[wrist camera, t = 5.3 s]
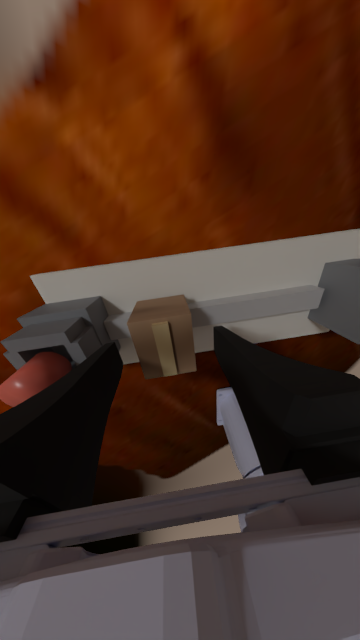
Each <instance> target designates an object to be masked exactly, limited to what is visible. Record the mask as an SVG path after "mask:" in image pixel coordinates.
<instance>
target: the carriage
mask: <svg viewBox="0 0 360 640" xmlns="http://www.w3.org/2000/svg"><path fill="white" fill-rule="evenodd" d="M127 326H128V329H129V332H130V335H131V338H132V341H133V344H134V347H135V350H136V353H137V356H138V359H139V361H140V364H141V367H142V370H143V373H144V376H145V379H150V378H157V377H163V376H171V375H177V374H181V373H187V372H193V371H197V370H196V360H195V350H194V340H193V329H192V319H191V312H190V310H189V307H188V304H187V302H186V299H185V297H184V294H183V295H176V296H169V297H162V298H156V299H149V300H142V301H137V302H136V305H135V307H134V309H133V311H132V313H131V315H130V317H129V319H128V321H127Z"/></svg>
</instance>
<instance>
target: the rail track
mask: <svg viewBox="0 0 360 640" xmlns="http://www.w3.org/2000/svg"><path fill="white" fill-rule="evenodd" d="M30 278H31V279H32V281H33V283H34V284H35V286H36V288H37V289H38V291H39V293H40V295H41V296H42V298H43V300H44V301H45V303H46V304H45V305H43V306H41V307H39V308H37V309H35V310H33V311H31V312H29V313H27V314H25V315H23V316H21V317H19V318H17V320H18V321H19V322H20V324H21V325H22V327H23V329H21V330H19V331H18V332H16V333H14V334H13V335H11V336H9V337H8V338H6V339H4V340H3V341H1V343H2V344H3V345H4V347H5V348H6V349H7V350H8V351H7V352H5V353H4V354H3V355H4V356H5V357H6V358H7V359H8V360H9V361H10V362H11V364H12V365H13V366H14V367H15V368H16V369H17V370H19V369H20V368H21V367H22V366H23V365H24V364H26V363H27V362H28V361H29V360H30V359H31V358H33V357H34V356H35V355H36V354H38V353H40V352H54V353H58V354H60V355H62V356H64V357H65V358H66V359H68V360H69V362H70V363H71V366H72V370H73V369H74V368H75V367H76V366H78V365H79V364H80V363H82V362H83V361H84V360H85V359H87V358H88V357H89V356H90V355H92V354H93V353H94V352H95V351H97V350H98V349H99V348H100V347H102V346H103V345H104V344H106V343H111V342H115V344H116V346H117V349H118V351H119V353H120V356H121V358H122V361H123V364H129V363H135V362H140V361H139V359H138V356H137V353H136V350H135V347H134V344H133V341H132V338H131V335H130V332H129V329H128V326H127V321H128V319H129V317H130V315H131V313H132V311H133V309H134V307H135V305H136V302H137V301H142V300H149V299H156V298H162V297H169V296H176V295H183V294H184V297H185V299H186V302H187V304H188V307H189V310H190V312H191V319H192V329H193V340H194V350H195V353H198V352H204V351H210V350H214V335H213V327H215V326H221V325H222V326H223V327H225V328H227V329H228V330H230V331H232V332H233V333H235V334H237V335H238V336H240V337H242V338H244V339H246V340H247V341H249V342H251V343H253V344H254V343H260V342H267V341H273V340H279V339H285V338H292V337H298V336H304V335H310V334H317V333H323V332H329V330H332V331H334V332H336V333H337V334H339V335H341V336H343V337H345V338H347V339H349V340H351V341H353V342H355V343H357V344H360V229H353V230H346V231H339V232H332V233H324V234H317V235H310V236H303V237H296V238H289V239H282V240H275V241H268V242H261V243H254V244H247V245H240V246H232V247H225V248H218V249H211V250H204V251H197V252H190V253H183V254H176V255H169V256H162V257H155V258H148V259H140V260H133V261H126V262H119V263H112V264H105V265H98V266H91V267H84V268H77V269H70V270H63V271H56V272H48V273H41V274H36V275H32V276H30Z"/></svg>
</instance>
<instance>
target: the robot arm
mask: <svg viewBox="0 0 360 640" xmlns="http://www.w3.org/2000/svg"><path fill="white" fill-rule="evenodd" d="M213 335H214V351H215V354H216V357H217V359H218V362H219V364H220V366H221V368H222V370H223V372H224V374H225V376H226V378H227V379H228V381H229V383H230V385H231V387H229V388H223V389H218V390H217V424H218V425H224V429H225V432H226V435H227V438H228V441H229V444H230V447H231V450H232V453H233V456H234V459H235V462H236V465H237V467H238V469H239V471H240V472H241V474H242V476H243V479H240V480H235V481H229V482H223V483H218V484H212V485H207V486H201V487H196V488H190V489H184V490H179V491H173V492H168V493H162V494H157V495H152V496H145V497H140V498H134V499H129V500H123V501H117V502H112V503H106V504H101V505H96V506H92V498H93V491H94V484H95V478H96V471H97V466H98V461H99V455H100V450H101V445H102V440H103V435H104V431H105V426H106V422H107V418H108V414H109V411H110V407H111V404H112V401H113V398H114V395H115V393H116V390H117V387H118V384H119V381H120V378H121V374H122V369H123V361H122V358H121V356H120V353H119V351H118V349H117V346H116V344H115V342H111V343H106V344H104V345H103V346H102V347H100V348H99V349H98V350H97V351H95V352H94V353H93V354H92V355H90V356H89V357H88V358H87V359H85V360H84V361H83V362H82V363H80V364H79V365H78V366H76V367H75V368H74V369H73V370H71V371H70V372H69V373H67V374H66V375H65V376H63V377H62V378H60V379H59V380H57V381H56V382H54V383H53V384H51V385H50V386H48V387H47V388H45V389H44V390H42V391H40V392H39V393H37V394H35V395H34V396H32V397H30V398H29V399H27V400H25V401H24V402H22V403H20V404H18V405H17V406H15V407H13V408H11V409H9V410H7V411H6V412H4V413H2V414H0V640H360V379H359V378H358V377H356V376H355V375H351V374H347V373H343V372H339V371H334V370H330V369H325V368H321V367H317V366H313V365H310V364H306V363H303V362H299V361H296V360H293V359H290V358H287V357H284V356H281V355H279V354H276V353H273V352H271V351H268V350H266V349H264V348H261V347H259V346H257V345H255V344H253V343H251V342H249V341H247V340H246V339H244V338H242V337H240V336H238V335H237V334H235V333H233V332H232V331H230V330H228V329H227V328H225V327H223V326H222V325H221V326H215V327H213ZM237 514H238V517H239V523H240V529H241V533H234V534H225V535H216V536H207V537H200V538H191V539H184V540H177V541H171V542H165V543H158V544H152V545H146V546H141V547H136V548H131V549H125V550H120V551H116V552H111V553H107V554H102V555H99V554H93V553H90V552H87V551H85V550H84V549H83V548H82V547H67V548H59V547H64V546H69V545H75V544H80V543H86V542H91V541H96V540H102V539H108V538H113V537H118V536H124V535H129V534H135V533H140V532H145V531H151V530H156V529H161V528H167V527H172V526H178V525H183V524H188V523H194V522H199V521H205V520H210V519H216V518H221V517H227V516H232V515H237Z"/></svg>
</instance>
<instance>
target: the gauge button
mask: <svg viewBox="0 0 360 640" xmlns="http://www.w3.org/2000/svg"><path fill="white" fill-rule="evenodd" d="M71 370H72V366H71V363H70V362H69V360H68V359H66V358H65V357H64V356H62V355H60V354H58V353H54V352H40V353H38V354H36V355H35V356H34V357H33V358H31V359H30V360H29V361H28V362H27V363H26V364H24V365H23V366H22V367H21V368H20V369H19V370H18V371H16V372H15V373H14V374H13V375H12V376H11V377H9V378H8V379H7V380H6V381H5V382H4V383H2V384H1V385H0V399H1V400H2V401H3V402H4V403H6V404H8V405H10V406H12V407H15V406H17V405H18V404H20V403H22V402H24V401H25V400H27V399H29V398H30V397H32V396H34V395H35V394H37V393H39V392H40V391H42V390H44V389H45V388H47V387H48V386H50V385H51V384H53V383H54V382H56V381H57V380H59V379H60V378H62V377H63V376H65V375H66V374H67V373H69V372H70V371H71Z"/></svg>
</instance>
